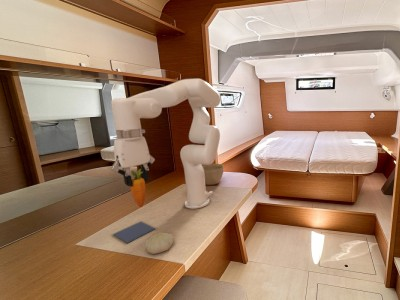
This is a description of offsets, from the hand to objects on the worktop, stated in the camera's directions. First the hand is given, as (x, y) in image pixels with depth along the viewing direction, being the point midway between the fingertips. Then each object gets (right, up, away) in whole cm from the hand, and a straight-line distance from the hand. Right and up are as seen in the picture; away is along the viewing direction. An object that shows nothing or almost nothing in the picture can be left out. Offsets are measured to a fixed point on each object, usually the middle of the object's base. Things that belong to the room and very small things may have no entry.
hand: (137, 182), depth 80 cm
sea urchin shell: (+8, -24, 0) cm, 26 cm away
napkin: (-7, -22, +10) cm, 26 cm away
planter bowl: (+10, -10, +65) cm, 66 cm away
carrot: (0, -10, +2) cm, 10 cm away
